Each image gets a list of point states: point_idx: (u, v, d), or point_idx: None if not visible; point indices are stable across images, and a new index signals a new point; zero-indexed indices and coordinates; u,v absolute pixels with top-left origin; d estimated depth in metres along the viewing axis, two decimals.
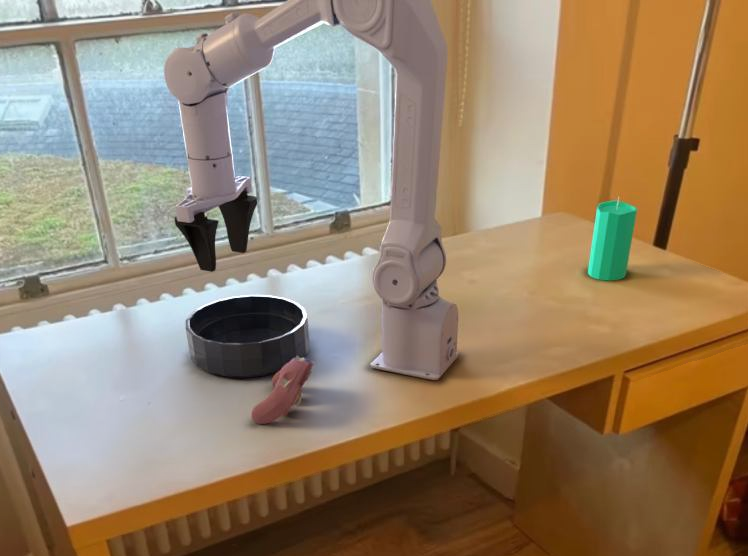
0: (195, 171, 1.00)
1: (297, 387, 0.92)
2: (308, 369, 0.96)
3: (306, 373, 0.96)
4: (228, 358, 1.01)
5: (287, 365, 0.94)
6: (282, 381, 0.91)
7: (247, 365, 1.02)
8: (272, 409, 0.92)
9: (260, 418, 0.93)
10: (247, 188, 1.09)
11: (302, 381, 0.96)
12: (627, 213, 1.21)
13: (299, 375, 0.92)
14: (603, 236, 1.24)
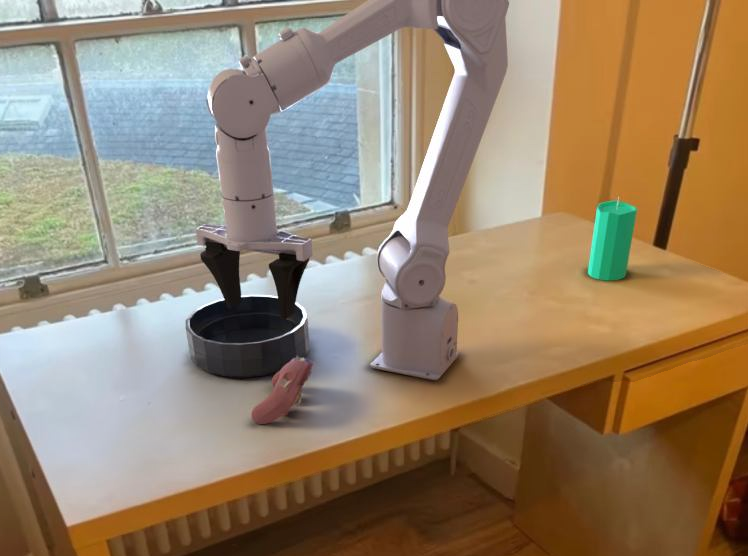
0: (268, 210, 0.88)
1: (297, 387, 0.92)
2: (308, 369, 0.96)
3: (306, 373, 0.96)
4: (228, 358, 1.01)
5: (287, 365, 0.94)
6: (282, 381, 0.91)
7: (247, 365, 1.02)
8: (272, 410, 0.92)
9: (260, 418, 0.93)
10: None
11: (302, 381, 0.96)
12: (627, 213, 1.21)
13: (299, 375, 0.92)
14: (603, 236, 1.24)
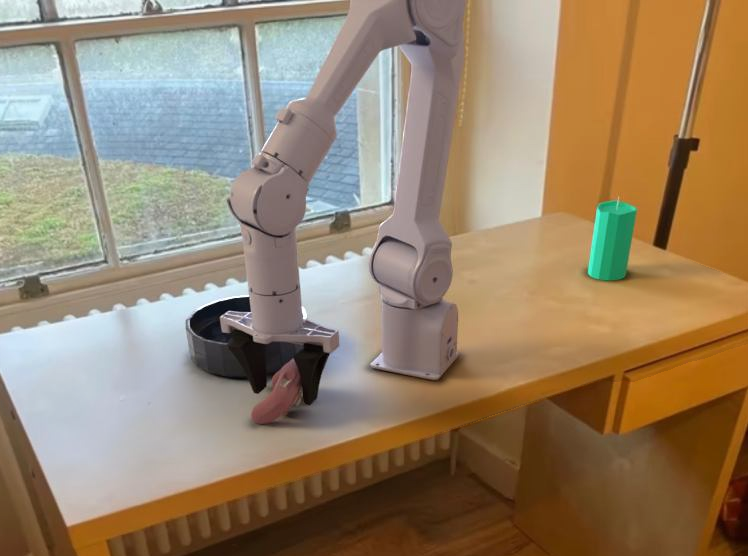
0: (295, 303, 0.88)
1: (297, 387, 0.92)
2: None
3: None
4: (228, 358, 1.01)
5: (287, 365, 0.94)
6: (282, 381, 0.91)
7: None
8: (271, 409, 0.92)
9: (260, 418, 0.93)
10: None
11: None
12: (627, 213, 1.21)
13: (299, 375, 0.92)
14: (603, 236, 1.24)
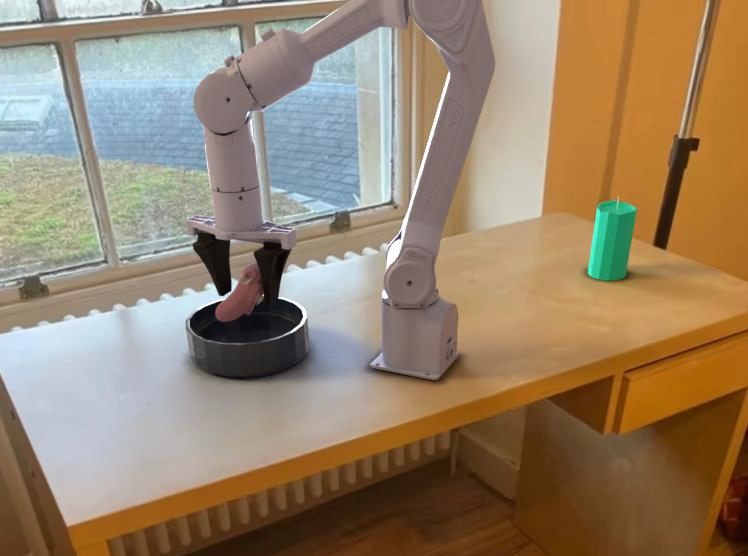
0: (255, 201, 0.93)
1: (258, 285, 0.97)
2: None
3: None
4: (228, 358, 1.01)
5: (249, 266, 0.99)
6: (243, 279, 0.97)
7: (247, 365, 1.02)
8: (234, 306, 0.98)
9: (223, 316, 0.99)
10: None
11: None
12: (627, 213, 1.21)
13: (260, 274, 0.98)
14: (603, 236, 1.24)
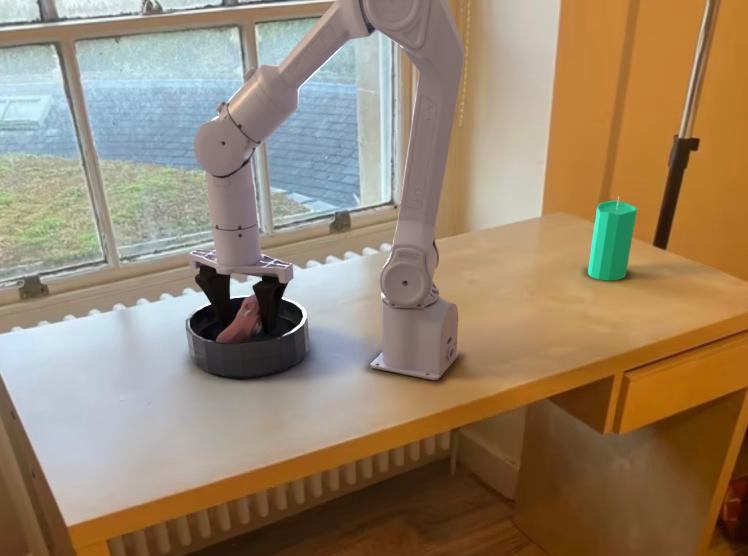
0: (253, 238, 0.98)
1: (256, 316, 1.02)
2: None
3: None
4: (228, 358, 1.01)
5: (248, 297, 1.04)
6: (243, 310, 1.02)
7: (247, 365, 1.02)
8: (234, 336, 1.03)
9: None
10: None
11: None
12: (627, 213, 1.21)
13: (258, 306, 1.03)
14: (603, 236, 1.24)
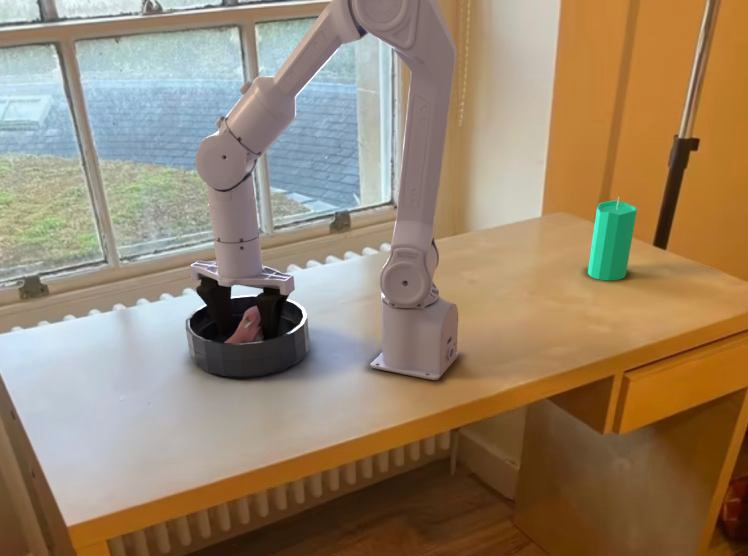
0: (255, 250, 0.99)
1: (257, 328, 1.03)
2: None
3: None
4: (228, 358, 1.01)
5: (249, 309, 1.05)
6: (244, 322, 1.03)
7: (247, 365, 1.02)
8: None
9: None
10: None
11: None
12: (627, 213, 1.21)
13: (259, 318, 1.04)
14: (603, 236, 1.24)
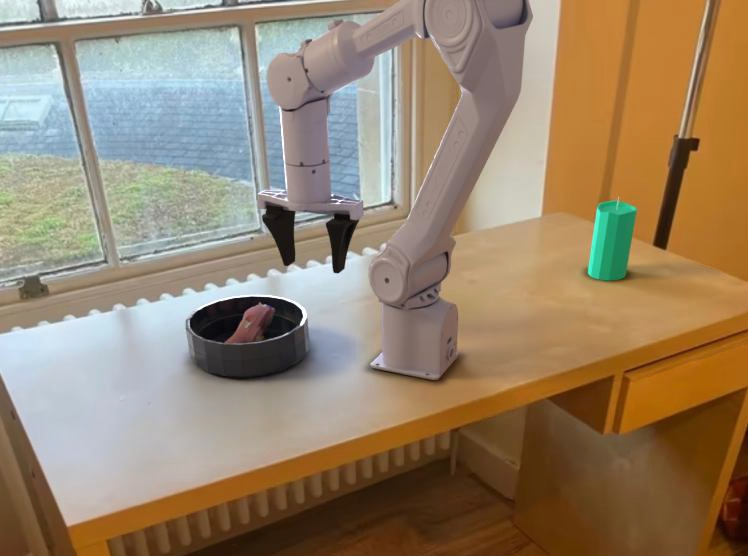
0: (326, 175, 1.00)
1: (257, 328, 1.03)
2: (269, 314, 1.07)
3: (267, 318, 1.07)
4: (228, 358, 1.01)
5: (249, 309, 1.05)
6: (244, 322, 1.03)
7: (247, 365, 1.02)
8: None
9: None
10: None
11: (264, 325, 1.08)
12: (627, 213, 1.21)
13: (259, 318, 1.04)
14: (603, 236, 1.24)
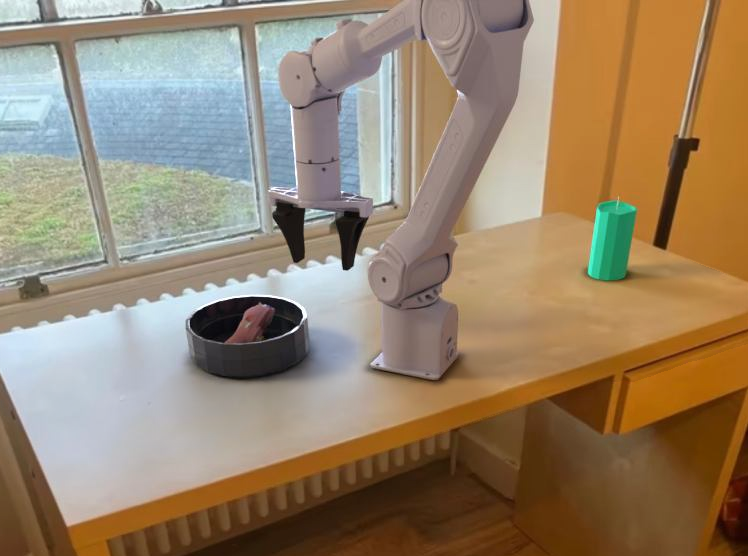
0: (336, 173, 1.01)
1: (257, 328, 1.03)
2: (269, 314, 1.07)
3: (267, 318, 1.07)
4: (228, 358, 1.01)
5: (249, 309, 1.05)
6: (244, 322, 1.03)
7: (247, 365, 1.02)
8: None
9: None
10: None
11: (264, 325, 1.08)
12: (627, 213, 1.21)
13: (259, 318, 1.04)
14: (603, 236, 1.24)
